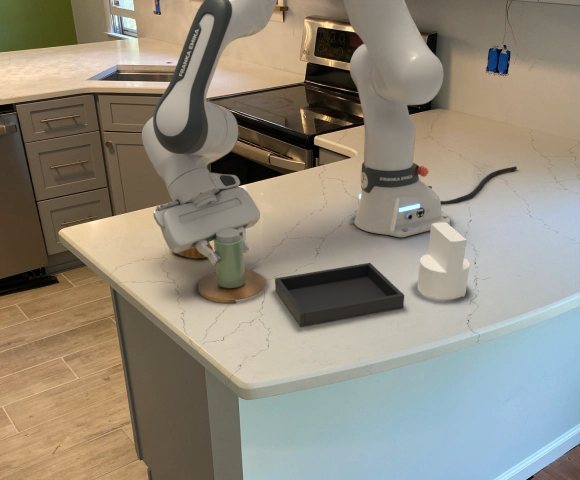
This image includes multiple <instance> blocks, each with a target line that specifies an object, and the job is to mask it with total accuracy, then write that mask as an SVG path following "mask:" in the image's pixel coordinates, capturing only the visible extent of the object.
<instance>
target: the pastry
mask: <svg viewBox="0 0 580 480" xmlns="http://www.w3.org/2000/svg"><path fill="white" fill-rule="evenodd" d="M207 243H208V245H207V247H208V248H210V249H211V250H212V251H214V250H213V248H214V247H213V246H212V245H211V243H210V242H207ZM177 254H178V255H179V256H182V257H186V258H188V259H204V258H207V257H206V256H204V255H203V254H201V253H200V252H198V250H197V249H196V247H193V248H190V249H188V250H185V251H182V252H179V253H177Z"/></svg>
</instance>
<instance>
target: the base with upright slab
mask: <svg viewBox="0 0 580 480" xmlns="http://www.w3.org/2000/svg"><path fill="white" fill-rule="evenodd" d="M429 232H430V233H429V242H428V251H427V254H424V255H422V256H421V257H420V259H419V267H418V277H417V290H418V292H420V293H421V295H424V296H425V297H429V298H431V299H436V300H444V301H445V300H456V299H458V298H461V297H463V298H464V297H465V296H466V293H467V287H468V278H469V272H470V264H471V263H470V261H469V260H468V259H467V258H466V257H465V253H466V247H467V238H465V237H464V236H463V235H462V234H461V233H460V232H458V231H457V230H456V229H455V228H454V227H452V226H451V224H450V225H449V224H448V223H446V222H441V223H433V224H431V230H429Z"/></svg>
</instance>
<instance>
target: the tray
mask: <svg viewBox="0 0 580 480" xmlns="http://www.w3.org/2000/svg"><path fill="white" fill-rule="evenodd" d="M274 283H275V284H274V289H275V292H276V294H277V295H278V297H279V298H280V299H281V301H282V302H283V304H284V306H285V307H286V308H287V310H288V311H289V312H290V314H291V315H292V317H293V318H294V320H295V321H296V323H297V324H298V326H299V327H300V328H303V327H308V326H309V327H310V326H314V325H319V324H324V323H329V322H335V321H341V320H345V319H346V320H347V319H352V318H357V317H362V316H367V315H371V314H378V313H383V312H388V311H393V310H400V309H403V308H404V306H405V305H404V304H405V294H404V293H403V292H402V291H401V290H400V289H399V288H398V287H396V286H395V284H393V283H392V282H391V280H389V279H388V278H387V277H386V276H385V275H384V274H383V273H382V272H380V270H378V269H377V268H376V266H374V265H373V264H372V263H371V262H366V263H360V264H354V265H348V266H342V267H335V268H328V269H323V270H318V271H317V270H316V271H312V272H305V273H299V274H293V275H286V276H281V277H275V278H274Z"/></svg>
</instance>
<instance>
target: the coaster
mask: <svg viewBox="0 0 580 480" xmlns="http://www.w3.org/2000/svg"><path fill="white" fill-rule="evenodd" d="M197 285H198V286H197V287H198V288H197V289H198V293H199V295H201V296H202V297H203V298H204V299H206V300H209V301H211V302H215V303H222V304H234V303H235V304H236V303H237V301H239V300H246V299H249V298H251V297H254V296H256V295H259V293H261V292H262V291H263V290H264V289H265V288H266V280H265V278H264V276H262V275H261V274H259V273H258V272H255V271H252V270H248V269H245V283H244V284H243V285H241V286H239V287H236V288H224V287H221V286H219V285H218V283H217V273H216V271H214V272H212V273H209V274H207V275H205V276H204V277H203V278H201V279H200V281H199V282H198V284H197Z"/></svg>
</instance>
